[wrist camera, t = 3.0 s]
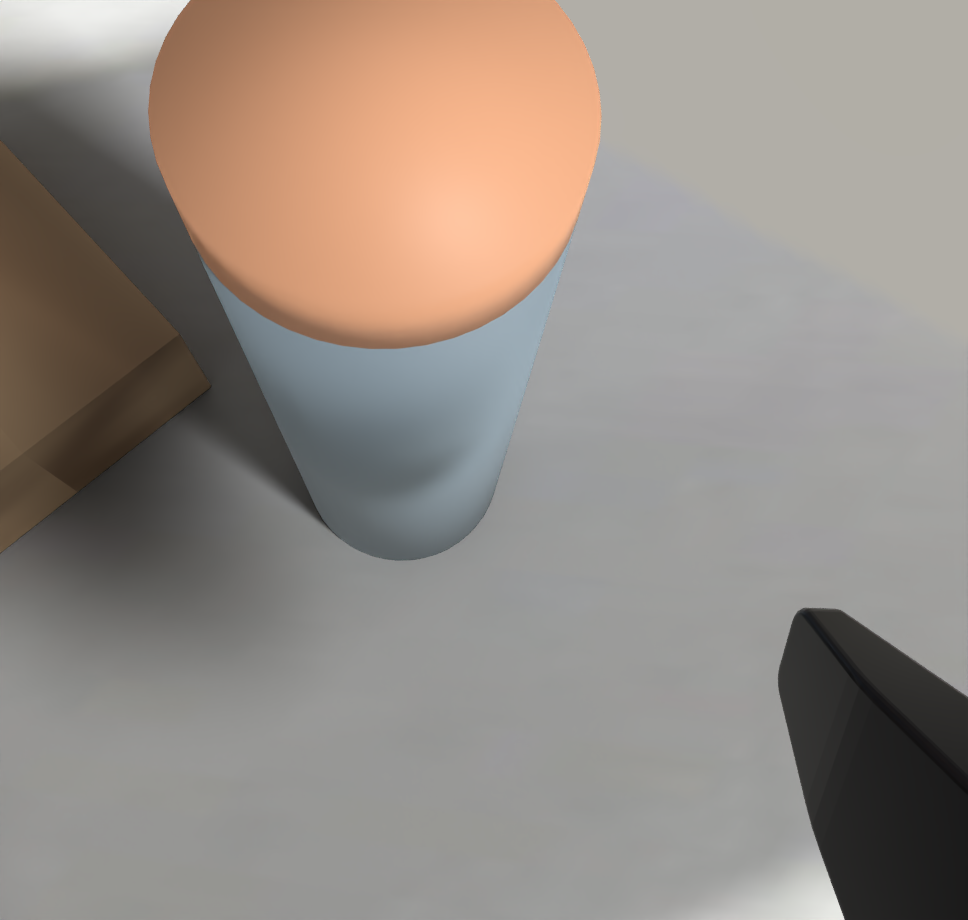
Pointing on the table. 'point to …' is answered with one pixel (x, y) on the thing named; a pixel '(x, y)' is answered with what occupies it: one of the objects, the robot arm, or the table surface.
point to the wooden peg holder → (72, 357)
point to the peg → (382, 230)
